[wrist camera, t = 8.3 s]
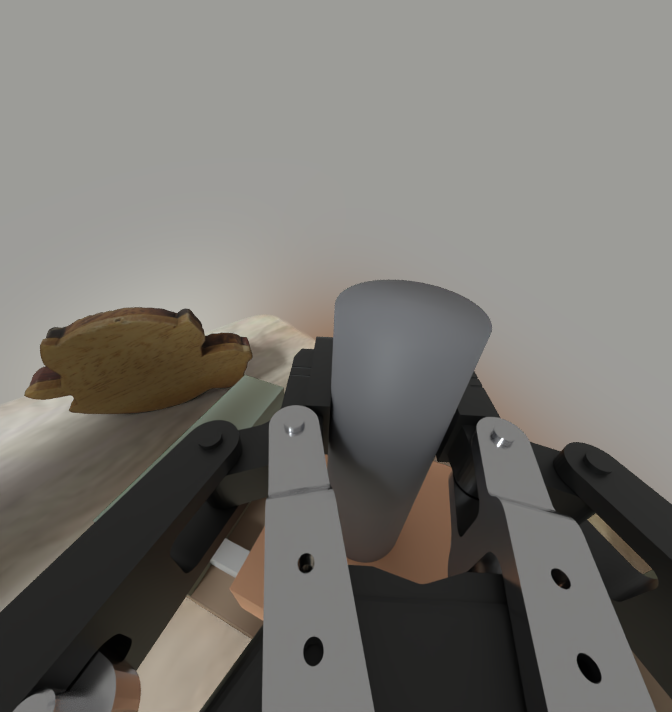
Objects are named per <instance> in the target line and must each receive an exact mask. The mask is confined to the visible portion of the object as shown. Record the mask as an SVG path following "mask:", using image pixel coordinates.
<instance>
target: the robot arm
mask: <svg viewBox="0 0 672 712" xmlns="http://www.w3.org/2000/svg"><path fill="white" fill-rule="evenodd" d="M332 356H333V338H332V337H316V342H315V348H314V349H301V350H300V351H299V352H298V353H297V354H296V355H295V357H294V360H293V364H292V368H291V372H290V376H289V379H288V383H287V387H286V391H285V395H284V398H283V402H282V406H281V409H280V410H279V411H277V412H276V413H275V414H274V415H273V416H272V418H271V420H270V421H268V422H266V423H264V424H262V425H259V426H255V427H250V428H246V429H241V430H238V429H237V427H236V426H235V425H234V424H232V423H231V422H228V421H225V420H213V421H209V422H206V423H203V424H201V425H199V426H198V427H196V428H195V429H193V430H192V431H191V432H190V433H189V434H188V435H187V436H186V437H185V438H184V439H183V440H181V441H180V442H179V443H178V444H177V445H176V446H175V447H174V448H173V449H172V450H171V451H170V452H169V453H168V454H167V455H166V456H165V457H164V458H162V459H161V460H160V461H159V462H158V463H157V464H156V465H155V466H154V467H153V468H152V469H151V470H150V471H149V472H148V473H147V474H146V475H145V476H144V477H142V478H141V479H140V480H139V481H138V482H137V483H136V484H135V485H134V486H133V487H132V488H131V489H130V490H129V491H128V492H127V493H126V494H125V495H123V496H122V497H121V498H120V499H119V500H118V501H117V502H116V503H115V504H114V505H113V506H112V507H111V508H110V509H109V510H108V511H107V512H106V513H104V514H103V515H102V516H101V517H100V518H99V519H98V520H97V521H96V522H95V523H94V524H93V525H92V526H91V527H90V528H89V529H88V530H87V531H85V532H84V533H83V534H82V535H81V536H80V537H79V538H78V539H77V540H76V541H75V542H74V543H73V544H72V545H71V546H70V547H69V548H68V549H66V550H65V551H64V552H63V553H62V554H61V555H60V556H59V557H58V558H57V559H56V560H55V561H54V562H53V563H52V564H51V565H50V566H49V567H48V568H46V569H45V570H44V571H43V572H42V573H41V574H40V575H39V576H38V577H37V578H36V579H35V580H34V581H33V582H32V583H31V584H30V585H29V586H27V587H26V588H25V589H24V590H23V591H22V592H21V593H20V594H19V595H18V596H17V597H16V598H15V599H14V600H13V601H12V602H11V603H10V604H8V605H7V606H6V607H5V608H4V609H3V610H2V611H1V612H0V712H138V708H139V703H140V694H141V687H140V680H139V676H138V674H137V672H136V670H137V669H138V667H139V666H140V664H141V663H142V661H143V660H144V658H145V657H146V655H147V654H148V652H149V651H150V650H151V648H152V647H153V645H154V644H155V642H156V641H157V639H158V638H159V636H160V635H161V633H162V632H163V630H164V629H165V627H166V626H167V624H168V623H169V621H170V620H171V618H172V617H173V615H174V614H175V612H176V611H177V609H178V608H179V606H180V605H181V603H182V602H183V600H184V599H185V597H186V596H187V594H188V593H189V591H190V590H191V588H192V587H193V585H194V584H195V582H196V581H197V579H198V578H199V576H200V575H201V573H202V572H203V570H204V569H205V567H206V566H207V564H208V563H209V562H210V560H211V559H212V557H213V556H214V554H215V553H216V551H217V550H218V548H219V547H220V545H221V544H222V542H223V541H224V539H225V538H226V536H227V535H228V533H229V532H230V530H231V529H232V527H233V526H234V524H235V523H236V521H237V520H238V518H239V517H240V515H241V514H242V512H243V511H244V509H245V508H246V506H247V505H248V503H249V502H251V501H255V500H258V499H262V498H265V497H267V498H266V505H265V552H264V615H263V625H262V626H261V628H260V629H259V630H258V632H257V633H256V635H255V636H254V637H253V639H252V640H251V641H250V643H249V644H248V646H247V647H246V648H245V650H244V651H243V652H242V654H241V655H240V657H239V658H238V659H237V661H236V662H235V663H234V665H233V666H232V667H231V669H230V670H229V672H228V673H227V674H226V676H225V677H224V678H223V680H222V681H221V683H220V684H219V685H218V687H217V688H216V689H215V691H214V692H213V694H212V695H211V696H210V698H209V699H208V700H207V702H206V703H205V705H204V706H203V707H202V709H201V710H200V711H199V712H656V710H655V707H654V705H653V702H652V700H651V697H650V695H649V693H648V690H647V688H646V685H645V683H644V680H643V678H642V676H641V673H640V671H639V668H638V666H637V663H636V661H635V658H634V656H633V654H632V652H633V653H634V654H635V655H636V656H637V658H638V659H639V660H640V661H641V663H642V664H643V665H644V666H645V667H646V669H647V670H648V671H649V672H650V674H651V675H652V676H653V677H654V679H655V680H656V681H657V682H658V683H659V685H660V686H661V687H662V688H663V690H664V691H665V692H666V693H667V694H668V696H669V697H670V698H671V699H672V504H670V503H669V502H668V501H667V500H665V499H664V498H663V497H662V496H660V495H659V494H658V493H657V492H655V491H654V490H653V489H652V488H650V487H649V486H648V485H647V484H645V483H644V482H643V481H642V480H640V479H639V478H638V477H637V476H635V475H634V474H633V473H632V472H630V471H629V470H628V469H627V468H625V467H624V466H623V465H621V464H620V463H619V462H618V461H617V460H615V459H614V458H613V457H611V456H610V455H609V454H607V453H605V452H604V451H602V450H600V449H598V448H596V447H594V446H591V445H588V444H585V443H579V442H573V443H569V444H568V445H567V446H566V447H565V448H564V449H563V450H562V451H557V450H554V449H551V448H548V447H544V446H541V445H538V444H535V443H532V442H530V441H529V439H528V438H527V436H526V435H525V434H524V432H523V431H521V430H520V429H519V428H518V427H517V426H516V425H514V424H512V423H511V422H509V421H506V420H504V419H501V418H500V416H499V414H498V413H497V411H496V409H495V407H494V406H493V404H492V402H491V400H490V399H489V397H488V395H487V393H486V391H485V390H484V388H482V384H481V382H480V381H479V379H477V378H478V377H477V375H476V374H475V372H473V374H472V376H471V378H470V381H469V383H468V385H467V387H466V389H465V392H464V394H463V396H462V398H461V400H460V403H459V405H458V407H457V409H456V411H455V414H454V416H453V418H452V420H451V422H450V425H449V427H448V429H447V431H446V433H445V436H444V438H443V440H442V442H441V444H440V447H439V449H438V451H437V453H436V457H437V461H438V462H450V465H451V468H452V471H451V473H450V474H449V478H448V484H449V500H450V515H451V530H452V544H451V549H450V553H449V559H448V577H447V578H444V579H441V580H437V581H434V582H431V583H427V584H419V583H416V582H413V581H410V580H408V579H405V578H402V577H400V576H397V575H394V574H392V573H389V572H387V571H384V570H381V569H379V568H376V567H373V566H361V565H348V563H347V558H346V553H345V547H344V542H343V536H342V531H341V525H340V520H339V514H338V509H337V503H336V498H335V494H334V490H333V487H332V486H330V482H329V477H328V471H327V466H326V460H325V455H328V445H329V427H330V407H331V377H332ZM595 513H596V514H597V515H598V516H599V517H600V518H601V519H603V520H604V521H605V522H606V523H607V524H608V525H609V526H610V527H611V528H612V529H613V530H614V531H615V532H616V533H617V534H618V535H619V536H620V537H621V538H622V539H623V540H624V541H625V542H626V543H627V544H628V545H629V546H630V547H631V548H632V549H633V550H634V551H635V552H636V553H637V554H638V555H639V556H640V557H641V558H642V559H643V560H644V561H645V562H646V563H647V564H648V565H649V566H650V567H651V568H652V569H653V571H654V572H655V574H656V576H657V578H658V579H653V578H650V577H647V576H645V575H643V574H641V573H640V572H638V571H637V570H636V569H635V568H634V567H633V566H632V565H631V564H630V563H629V562H628V561H627V560H626V559H625V558H624V557H623V556H622V555H621V554H620V553H619V552H618V551H617V550H616V549H615V548H614V547H613V546H612V545H611V544H610V543H609V542H608V541H607V540H606V539H605V538H604V537H603V536H602V535H601V534H600V533H599V532H598V531H597V530H596V529H595V527H594V526H593V525H592V524H591V523H590V522H589V521H588V520H587V519H588V518H590V517H591V516H592V515H594V514H595ZM631 650H632V651H631Z"/></svg>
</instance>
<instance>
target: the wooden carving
mask: <svg viewBox="0 0 672 712" xmlns="http://www.w3.org/2000/svg"><path fill="white" fill-rule="evenodd" d="M40 354H41V358H42V361H43V363H44V365H45V366H46V367H43V368H41V369H39V370H38V371H37V372H36V373H35V374H34V375H33V377H32V381H31V383H30V386H29V387H28V388H27V390H26V391H25V395H24V396H26V397H28V398H32V399H41V400H46V399H53V398H58V397H63V396H68V395H71V396H73V397H74V400H73V401H72V403H71V406H70V409H69V411H70V412H73V413H83V414H127V413H140V412H148V411H154V410H159V409H164V408H168V407H171V406H175V405H178V404H181V403H184V402H187V401H189V400H191V399H194V398H195V397H197V396H199V395H201V394H202V393H204V392H206V391H207V390H209V389H212V388H227V387H232V386H234V385H235V384H236V383H237V382H238V381H239V380H240V379H241V378H242V377H243V376H244V371H245V370H246V368H247V363H248V361H249V360H251V359H252V357H253V356H252V352H251V349H250V345H249V342H248V339H247V337H240V336H239V335H237V334H233V333H218V334H210V335H207V336H205V334H204V330H203V328H202V324H201V322H200V321H199V319H198V318H197V317H196V316H195V315H194V314H193V312H192V311H191V310H190V309H183V310H181V311H179V312H178V313H174V312H171V311H167V310H165V309H159V308H158V309H157V308H142V307H140V308H139V307H135V308H122V309H117V310H114V311H107V312H104V313H103V312H101V313H98V314H95V315H89V316H87V317H84V318H83V319H79V320H77V321H75V322H74V323H72V324H71V325H69V326H67V327H63V328H58V327H54V328H51V329H50V330H49V331H48V333H47V336H46V339H43V341H42V343H41V345H40Z"/></svg>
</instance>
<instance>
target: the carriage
mask: <svg viewBox="0 0 672 712" xmlns="http://www.w3.org/2000/svg"><path fill="white" fill-rule="evenodd" d="M491 332H492V324H491V321H490V319H489V317H488V316H487V314H486V313H485V312H484V311H483V310H482V309H481V308H480V307H479V306H478V305H476V304H475V303H473V302H472V301H470V300H469V299H467V298H465V297H463V296H461V295H459V294H457V293H455V292H452V291H449V290H447V289H444V288H441V287H437V286H434V285H430V284H425V283H420V282H413V281H404V280H377V281H369V282H364V283H360V284H357V285H354V286H351V287H349V288H347V289H346V290H344V291H343V292H342V293H340V295H339V296H338V297H337V299H336V302H335V315H334V336H333V356H332V377H331V407H330V427H329V445H328V455H325V460H326V466H327V471H328V477H329V482H330V486H332V487H333V490H334V494H335V498H336V503H337V509H338V514H339V520H340V525H341V531H342V536H343V542H344V547H345V553H346V558H347V563H348V565H361V566H373V567H376V568H379V569H381V570H384V571H387V572H389V573H392V574H394V575H397V576H400V577H402V578H405V579H408V580H410V581H413V582H416V583H419V584H427V583H431V582H434V581H437V580H441V579H444V578H447V577H448V559H449V553H450V545H451V515H450V500H449V484H448V478H449V474H450V473H451V471H452V468H451V467H449V466H446V465H444V464H441V463H438V462H435V461H433V460H434V458H435V455H436V453H437V451H438V449H439V447H440V444H441V442H442V440H443V438H444V436H445V433H446V431H447V429H448V427H449V425H450V422H451V420H452V418H453V416H454V414H455V411H456V409H457V407H458V405H459V403H460V400H461V398H462V396H463V394H464V392H465V389H466V387H467V385H468V383H469V381H470V378H471V376H472V374H473V372H474V370H475V367H476V365H477V363H478V361H479V359H480V356H481V354H482V352H483V350H484V347H485V345H486V343H487V341H488V339H489V337H490V334H491ZM264 552H265V526H264V528H263V530H262V532H261V533H260V535H259V537H258V539H257V540H256V542H255V544H254V546H253V547H252V549H251V551H250V553H249V555H248V556H247V558H246V560H245V562H244V563H243V565H242V567H241V569H240V571H239V572H238V574H237V576H236V578H235V579H234V581H233V583H232V585H231V586H230V588H229V589H230V591H231V592H232V594H233V595H234V597H235V598H236V600H237V601H238V603H239V604H240V606H241V607H242V608H243V609H245V610H246V611H248V612H250V613H251V614H253V615H254V616H256V617H258V618H259V619H261V620H263V615H264Z"/></svg>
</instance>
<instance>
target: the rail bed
mask: <svg viewBox="0 0 672 712" xmlns="http://www.w3.org/2000/svg"><path fill="white" fill-rule="evenodd" d="M283 398H284V388H283V387H280V386H277V385H274V384H271V383H268V382H265V381H262V380H259V379H256V378H253V377H250V376H247V375H245V376H243V377H242V378H241V379H240V380H239V381H238V382H237V383H236V384H235V385H234V386H233V387H232V388H231V389H230V390H229V391H228V392H227V393H226V394H225V395H224V396H223V397H222V398H220V399H219V400H218V401H217V402H216V403H215V404H214V405H213V406H212V407H211V408H210V409H209V410H208V411H207V412H206V413H205V414H204V415H203V416H202V417H201V418H200V419H199V420H198V421H196V422H195V423H194V424H193V425H192V426H191V427H190V428H189V429H188V430H187V431H186V432H185V433H184V434H183V435H182V436H181V437H180V438H179V439H178V440H177V441H176V442H175V443H174V444H172V445H171V446H170V447H169V448H168V449H167V450H166V451H165V452H164V453H163V454H162V455H161V456H160V457H159V458H158V459H157V460H156V461H155V462H154V463H153V464H152V465H151V466H149V467H148V468H147V469H146V470H145V471H144V472H143V473H142V474H141V475H140V476H139V477H138V478H137V479H136V480H135V481H134V482H133V483H132V484H131V485H130V486H129V487H128V488H127V489H125V490H124V491H123V492H122V493H121V494H120V495H119V496H118V497H117V498H116V499H115V500H114V501H113V502H112V503H111V504H110V505H109V506H108V507H107V508H106V509H105V510H104V511H102V512H101V513H100V514H99V515H98V516H97V517H96V518H95V519H94V520H93V521H94V522H96V521H97V520H98V519H99V518H100V517H101V516H102V515H103V514H104V513H106V512H107V511H108V510H109V509H110V508H111V507H112V506H113V505H114V504H115V503H116V502H117V501H118V500H119V499H120V498H121V497H122V496H123V495H125V494H126V493H127V492H128V491H129V490H130V489H131V488H132V487H133V486H134V485H135V484H136V483H137V482H138V481H139V480H140V479H141V478H142V477H144V476H145V475H146V474H147V473H148V472H149V471H150V470H151V469H152V468H153V467H154V466H155V465H156V464H157V463H158V462H159V461H160V460H161V459H162V458H164V457H165V456H166V455H167V454H168V453H169V452H170V451H171V450H172V449H173V448H174V447H175V446H176V445H177V444H178V443H179V442H180V441H181V440H183V439H184V438H185V437H186V436H187V435H188V434H189V433H190V432H191V431H192V430H193V429H195V428H196V427H198V426H199V425H201V424H203V423H206V422H209V421H213V420H225V421H228V422H231V423H232V424H234V425H235V426H236V427H237V429H238V430H241V429H246V428H250V427H255V426H259V425H262V424H264V423H266V422H268V421H270V420H271V418H272V416H273V415H274V414H275V413H276V412H277V411H279V410H280V409H281V406H282V402H283ZM266 498H267V497H265V498H262V499H258V500H255V501H251V502H249V503H248V505H247V506H246V508H245V509H244V511H243V512H242V514H241V515H240V517H239V518H238V520H237V521H236V523H235V524H234V526H233V527H232V529H231V530H230V532H229V533H228V535H227V536H226V538H225V539H224V541H223V542H222V544H221V545H220V547H219V548H218V550H217V551H216V553H215V554H214V556H213V557H212V559H211V560H210V562H209V563H208V564H207V566H206V567H205V569H204V570H203V572H202V573H201V575H200V576H199V578H198V579H197V581H196V582H195V584H194V585H193V587H192V588H191V590H190V591H189V593H188V594H187V596H186V597H187V598H189V599H191V600H192V601H194V602H195V603H197V604H198V605H200V606H201V607H203V608H205V609H206V610H208V611H209V612H211V613H212V614H214V615H215V616H217V617H218V618H220V619H222V620H223V621H225V622H226V623H228V624H229V625H231V626H232V627H234V628H236V629H237V630H239V631H240V632H242V633H243V634H245V635H246V636H248V637H249V638H251V639H253V637H254V636H255V635H256V633H257V632H258V630H259V629H260V628H261V626H262V625H263V620H261V619H259V618H258V617H256V616H254V615H253V614H251V613H250V612H248V611H246V610H245V609H243V608H242V607H241V606H240V604H239V603H238V601H237V600H236V598H235V597H234V595H233V594H232V592H231V591H230V589H229V588H230V586H231V585H232V583H233V581H234V579H235V578H236V576H237V574H238V572H239V571H240V569H241V567H242V565H243V563H244V562H245V560H246V558H247V556H248V555H249V553H250V551H251V549H252V547H253V546H254V544H255V542H256V540H257V539H258V537H259V535H260V533H261V532H262V530H263V528H264V526H265V505H266ZM451 544H452V530H451ZM450 549H451V545H450ZM643 575H645V576H647V577H650V578H653V579H658V578H657V576H656V574H655V572H654V571H653V570H651V571H649V572H647V573H644V574H643ZM631 651H632V650H631ZM632 654H633V656H634V658H635V661H636V663H637V666H638V668H639V671H640V673H641V676H642V678H643V680H644V683H645V685H646V688H647V690H648V693H649V695H650V697H651V700H652V702H653V705H654V707H655V710H656V712H672V699H671V698H670V697H669V696H668V694H667V693H666V692H665V691H664V690H663V688H662V687H661V686H660V685H659V683H658V682H657V681H656V680H655V679H654V677H653V676H652V675H651V674H650V672H649V671H648V670H647V669H646V667H645V666H644V665H643V664H642V663H641V661H640V660H639V659H638V658H637V656H636V655H635V654H634V653H633V652H632Z"/></svg>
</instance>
